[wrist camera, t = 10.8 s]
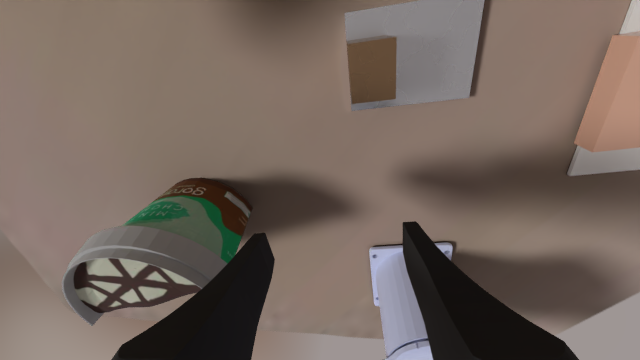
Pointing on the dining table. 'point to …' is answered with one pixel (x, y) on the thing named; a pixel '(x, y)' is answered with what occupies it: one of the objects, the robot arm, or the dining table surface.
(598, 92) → the tile
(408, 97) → the turner
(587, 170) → the mat
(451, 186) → the dining table surface
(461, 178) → the dining table surface
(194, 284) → the food container
